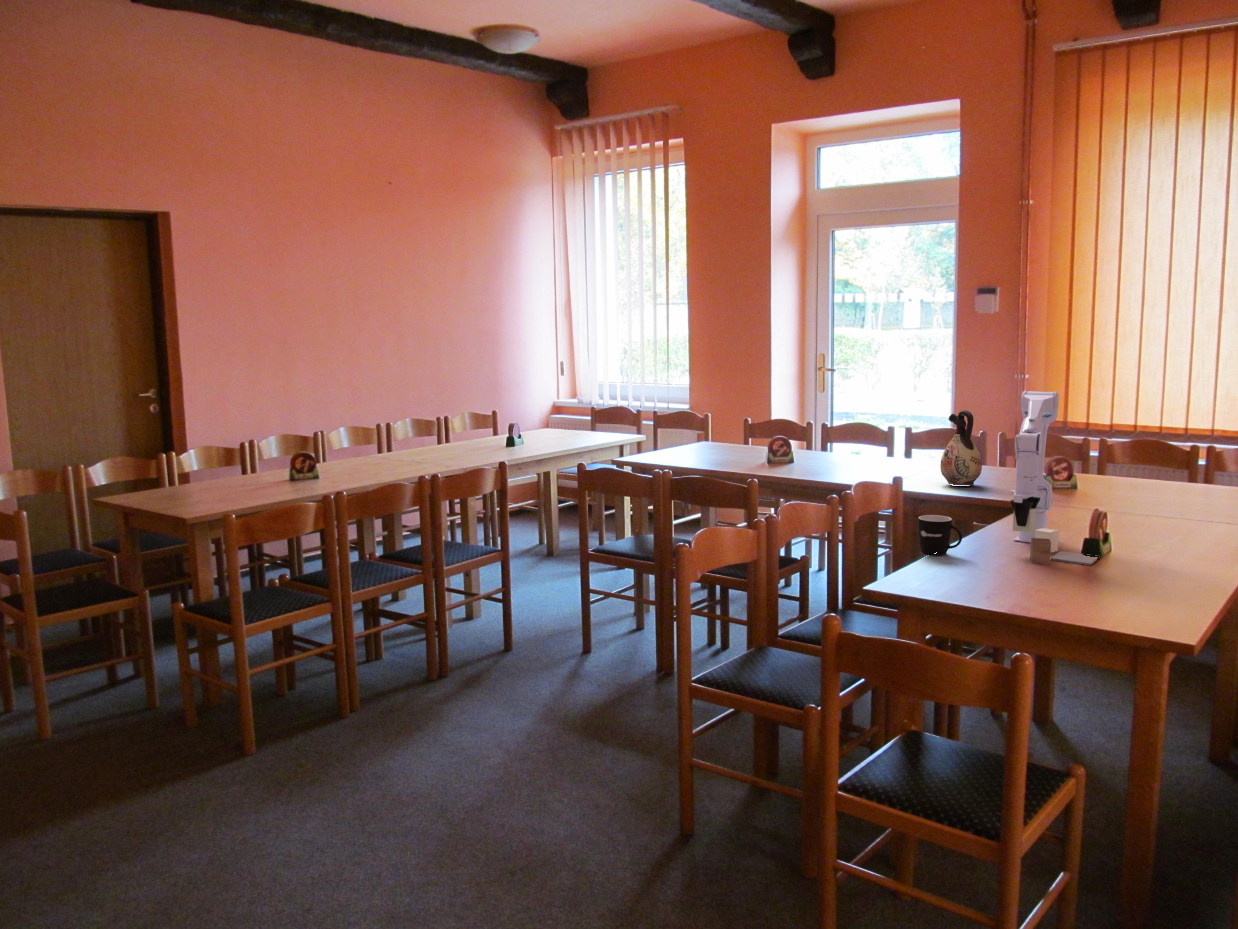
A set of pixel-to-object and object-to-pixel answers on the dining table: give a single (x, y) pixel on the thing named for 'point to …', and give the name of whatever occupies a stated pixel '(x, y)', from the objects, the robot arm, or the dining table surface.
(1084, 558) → the coaster
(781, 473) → the dining table surface
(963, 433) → the ceramic jug
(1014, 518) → the green block
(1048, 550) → the walnut block
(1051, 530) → the cream block
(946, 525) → the mug
